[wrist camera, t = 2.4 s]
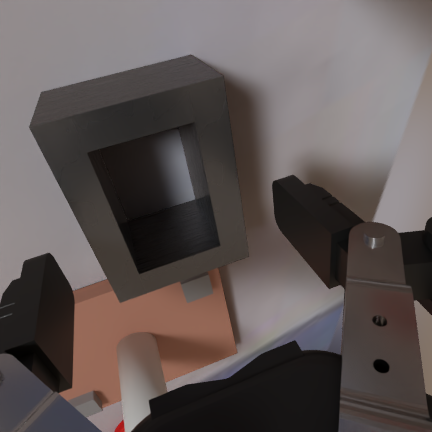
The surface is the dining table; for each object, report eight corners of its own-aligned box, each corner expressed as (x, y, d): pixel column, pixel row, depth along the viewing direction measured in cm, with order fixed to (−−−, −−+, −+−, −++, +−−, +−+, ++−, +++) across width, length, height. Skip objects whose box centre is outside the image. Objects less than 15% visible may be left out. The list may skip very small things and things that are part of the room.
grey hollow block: (40, 92, 13) (29, 127, 10) (190, 54, 14) (223, 75, 11) (112, 246, 18) (120, 303, 15) (220, 210, 19) (249, 256, 16)
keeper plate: (-7, 318, 18) (-53, 501, 12) (209, 243, 20) (270, 364, 14) (72, 406, 24) (69, 557, 18) (232, 341, 26) (282, 457, 20)
